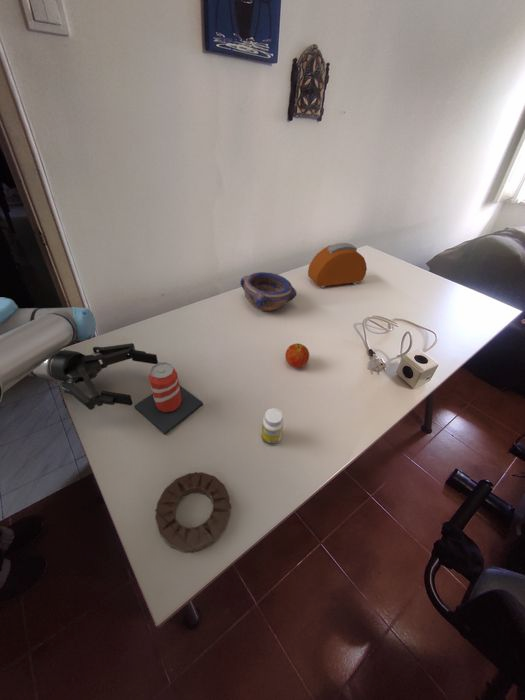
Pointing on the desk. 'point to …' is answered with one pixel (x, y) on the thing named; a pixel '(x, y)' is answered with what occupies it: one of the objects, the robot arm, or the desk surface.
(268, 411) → the supplement bottle
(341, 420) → the desk surface
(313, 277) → the orange toaster
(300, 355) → the fruit
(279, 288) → the bowl
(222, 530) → the socket
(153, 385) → the beverage can
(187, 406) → the mat
